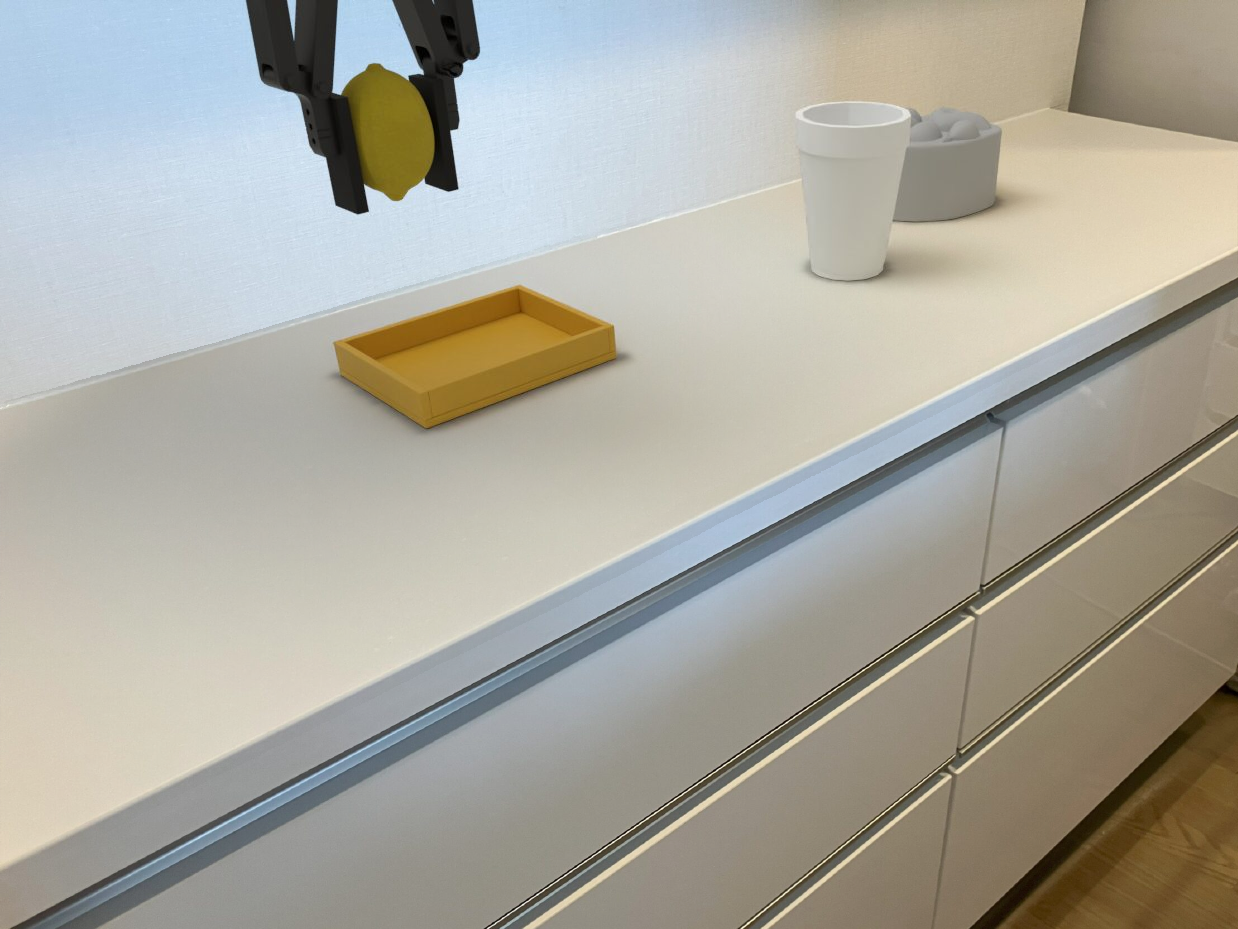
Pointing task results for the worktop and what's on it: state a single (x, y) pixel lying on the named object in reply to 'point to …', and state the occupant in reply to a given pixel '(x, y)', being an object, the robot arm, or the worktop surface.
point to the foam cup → (850, 183)
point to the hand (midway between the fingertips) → (397, 196)
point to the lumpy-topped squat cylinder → (948, 166)
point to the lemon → (390, 130)
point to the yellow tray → (474, 353)
